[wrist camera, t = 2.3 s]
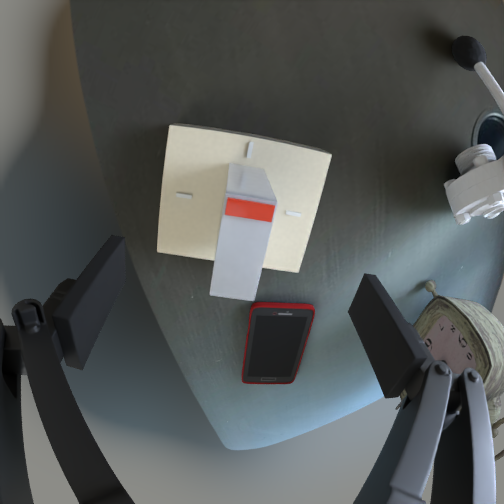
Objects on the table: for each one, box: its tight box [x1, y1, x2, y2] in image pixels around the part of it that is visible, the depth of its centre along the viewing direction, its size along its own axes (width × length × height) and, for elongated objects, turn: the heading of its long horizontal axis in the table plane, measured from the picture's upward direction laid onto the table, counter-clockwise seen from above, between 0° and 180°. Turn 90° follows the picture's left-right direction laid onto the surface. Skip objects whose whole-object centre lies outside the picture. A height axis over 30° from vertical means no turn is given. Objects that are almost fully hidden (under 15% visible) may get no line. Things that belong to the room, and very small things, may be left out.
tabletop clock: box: [400, 280, 504, 461], centre depth 27 cm, size 14×9×25 cm, turn 166°
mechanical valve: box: [444, 36, 504, 225], centre depth 24 cm, size 10×18×15 cm
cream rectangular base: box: [157, 123, 332, 273], centre depth 28 cm, size 14×12×3 cm
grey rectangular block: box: [209, 163, 278, 301], centre depth 22 cm, size 7×3×9 cm, turn 169°
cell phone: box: [242, 302, 315, 384], centre depth 38 cm, size 8×15×1 cm, turn 174°
